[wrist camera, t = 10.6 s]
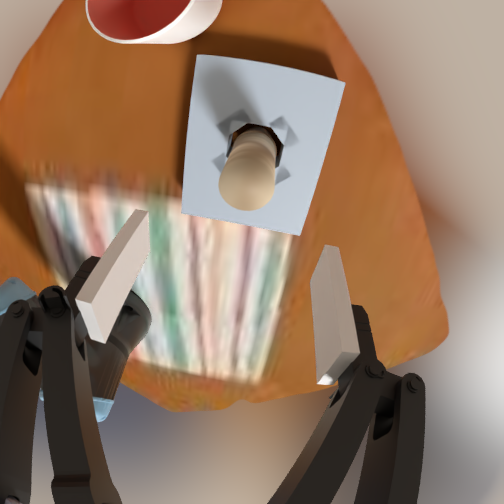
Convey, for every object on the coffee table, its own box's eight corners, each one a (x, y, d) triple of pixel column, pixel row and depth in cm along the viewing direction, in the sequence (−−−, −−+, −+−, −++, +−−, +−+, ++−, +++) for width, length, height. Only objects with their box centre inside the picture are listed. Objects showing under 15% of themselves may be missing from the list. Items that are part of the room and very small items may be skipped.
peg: (234, 155, 32) (214, 206, 23) (240, 118, 30) (221, 154, 20) (272, 162, 32) (269, 216, 23) (280, 126, 30) (281, 165, 20)
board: (189, 199, 36) (181, 213, 34) (205, 54, 25) (197, 54, 22) (298, 219, 37) (300, 235, 34) (338, 79, 26) (345, 82, 23)
